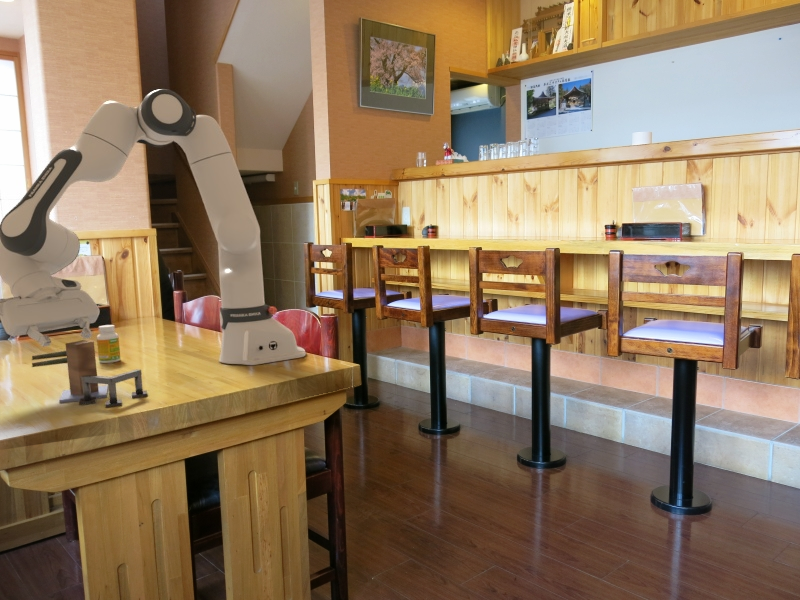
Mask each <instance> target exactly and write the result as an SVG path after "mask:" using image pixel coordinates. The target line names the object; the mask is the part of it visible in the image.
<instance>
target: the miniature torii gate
mask: <svg viewBox="0 0 800 600" xmlns="http://www.w3.org/2000/svg"><path fill="white" fill-rule="evenodd" d="M57 357H58V358H57ZM59 357H62V358H59ZM31 358H32V360H34V361H35V360H41V359H49V360H42V361H36V362H32V363H31V367H32V368H33V367H41V366H50V365H57V364H67V354H66V350H63V351H62V350H61V351H57V352H49V353H43V354H37V355H32V357H31ZM50 358H55V359H50ZM56 358H57V359H56Z"/></svg>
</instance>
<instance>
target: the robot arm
mask: <svg viewBox="0 0 800 600" xmlns="http://www.w3.org/2000/svg"><path fill="white" fill-rule="evenodd" d="M136 143H138V144H143V145H146V146H151V147H155V148H162V147H166V146H168V145H171V144H173V143H177V145H178V146H180V148H181V149H182V150H183V152H184V153H185V156H186V159H187V162H188V165H189V167H190V168H189V169H190V170H191V173H192V176H193V178H194V181H195V183H196V186H197V188H198V192H199V195H200V196H201V199H202V203H203V204H204V208H205V211H206V214H207V217H208V220H209V223H210V226H211V228H212V231H213V233H214V237H215V239H216V241H217V249H218V250H217V251H218V271H219V272H218V273H219V289H220V290H219V291H220V303H221V304H220V305H221V306H220V308H219V310H220V311H219V321H220V326H221V327H220V328H221V329H222V331H221V332H222V333H221V334H222V335H221V336H222V337H221V346H220V347H221V348H220V349H221V350H220V354H219V357H218V358H219V359H218V361H219V362H220V363H222V364H228V365H245V366H256V365H261V364H268V363H274V362H280V361H286V360H292V359H293V360H294V359H298V358H303V357H305V356H307V355H306V350H305V349H304V348H303V347H301V346H298V345H297V340H296V336H295V334H294V332H293V331H292V330H291V329H290V328H289V327H287V326H286V325H284V324H282V323H281V322H280V321H278V320H276V319H275V318H273V317H274V315H276V314H277V313H278V309H277V308H276V306H270V305H268V304H266V303H265V290H264V289H265V288H264V275H263V264H262V263H263V262H262V248H261V228H260V225H259V222H258V219H257V216H256V214H255V211H254V209H253V205H252V203H251V201H250V198H249V194H248V193H247V190H246V187H245V184H244V181H243V179H242V177H241V173H240V171H239V168H238V166H237V163H236V159H235V158H234V155H233V152H232V149H231V146H230V145H229V142H228V140H227V137H226V136H225V133H224V131H223V129H222V128H221V127H220V125H219V123H218V122H217V120H216V119H215V118H214V117H213V116H210V115H206V114H197V113H196V111H195V109H193V108H192V107H191V106H190V105H189V104H188V103H187V102H186V101H185V100H184V99H183V98H182V97H181V95H179V94H178V93H176V92H175V91H173V90H171V89H165V88H161V89H156V90H153V91H150V92H149V93H148V94H146V95H145V97H144V98H143V100H142V101H141V102H140V104H139V106H135V107H134V106H133V107H131V106H128V105H127V104H125V103H122V102H120V101H116V100H108V101H105V102H103V103H101V105H100V106H99V107H98V108H97V109H96V111H95V112H94V113H93V115H92V116H91V117H90V119H89V120H88V121H87V123H86V124H85V126H84V128H83V129H82V131H81V133H80V135H79V136H78V138H77V140H76V141H75V142H74V143H73V144H72V145H71V146H70V147H69V148H66V149H63V150H61V151H59V152H58V153H57V154H56V155H54V156H53V158H52V159H51V161H49V163H47V165H46V166H45V167H44V169H43V170H42V172H41V173H40V174H39V176H38V177H37V178H36V179H35V180H34V182H33V184H32V185H31V186H30V187H29V188H28V190H27V192H26V193H25V194H24V195H23V197H22V198H21V200H20V201H18V203H17V204H15V206H13V208H12V209H10V210H9V211H8V212H7V213H6V214H5V216H3V218H2V220H1V222H0V277H1V279H2V280H3V282H4V283H5V284H6V285H7V286H9V289H10V293H11V294H12V296H13V297H8V298H0V321H1V325H2V327H3V329H4V331H5V333H6V334H7V335H9V336H12V337H19V336H24V335H25V336H26V335H27V336H28V337H29V338H31V339H32V340H34V341H36V342H38V343H39V345H40V346H41V347H48V346H50V345H51V343H52V340H51V338H50V337H49V335H48V334H46V335H44V334H43V332H49V331H53V330H60V329H66V328H72V327H76V326H78V327H80V328H82V330H81V332H80V334H79V335H80V336H81V337H82V339H83V340H86V339H91V337H92V336H93V332H92V330H91V329H90V326H91V325H90V324H94V323H96V321H97V320H98V318H99V315H100V308H99V307H98V305H97V303H96V302H95V300H94V299H93V298H92V296H91V295H90V294H89V293H87V291H84V290H83V289H82V285H81V283H80V282H79V281H78V280H73V279H67V278H61V277H56V276H54V275H55V274H57V273H58V272H60V271H62V270H64V269H65V268H67V267H68V266H69V265H71V264H72V263H73V262H74V261H75V260H76V259H77V257H78V255H79V254H80V249H81V243H80V239H79V236H78V235H77V234H76V233H75V232H74V231H73V230H70V229H69V228H67V227H66V226H63V225H61V224H60V223H58V222H56V221H54V220H53V219H50V215H51V212H52V210H53V209H54V207H55V206H56V205H57V203H59V201H60V199H61V198H62V196H64V194H65V192H66V191H67V189H68V188H69V187H70V186H72V185H73V184H74V183H78V182H83V181H85V182H92V183H103V182H107V181H109V180H113V179H115V177H116V176H117V175H118V174H119V173H120V172H121V170H122V169H123V167H124V165H125V163H126V161H127V160H128V158H129V156H130V153H131V151H132V149H133V148H134V146H135V145H136ZM52 275H53V276H52Z"/></svg>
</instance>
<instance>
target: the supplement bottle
mask: <svg viewBox="0 0 800 600" xmlns="http://www.w3.org/2000/svg"><path fill="white" fill-rule="evenodd" d="M115 331H116V326H115V325H114V324H105V325H99V326H98V332H99V334H97V336H96V343H97V354H98V362H99V363H101V364H112V363H117V362H119V361H121V350H120V349H121V348H120V338H119V334H118V333H117V332H115Z"/></svg>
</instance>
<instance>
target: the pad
mask: <svg viewBox="0 0 800 600" xmlns="http://www.w3.org/2000/svg"><path fill="white" fill-rule="evenodd" d="M98 390H99V391H97V392H94V393H91V397H96V399H102V398H107V397H108V392H109V389H108V384H104V385H100V386H99V385H98ZM82 398H84V395H82V396H80V395H75V394H71V393H70V389H67V390H66V389H65V390H63V391H62V392H61V395H60V398H59V401H58V402H59V404H62V403H71V402H80V399H82Z"/></svg>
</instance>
